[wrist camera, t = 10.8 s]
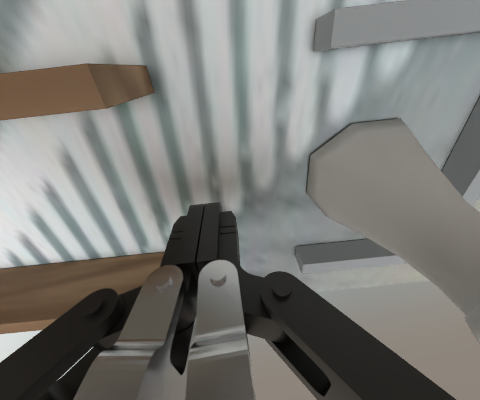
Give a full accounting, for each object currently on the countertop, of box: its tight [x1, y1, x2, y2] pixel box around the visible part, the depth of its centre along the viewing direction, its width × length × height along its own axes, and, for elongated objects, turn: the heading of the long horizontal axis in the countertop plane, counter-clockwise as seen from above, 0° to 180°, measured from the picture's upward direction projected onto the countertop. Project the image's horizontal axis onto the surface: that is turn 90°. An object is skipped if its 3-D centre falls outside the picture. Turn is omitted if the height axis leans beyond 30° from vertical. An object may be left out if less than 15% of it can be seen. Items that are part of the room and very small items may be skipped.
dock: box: [295, 0, 480, 274], centre depth 13 cm, size 16×11×2 cm
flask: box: [307, 119, 480, 343], centre depth 10 cm, size 7×7×10 cm
